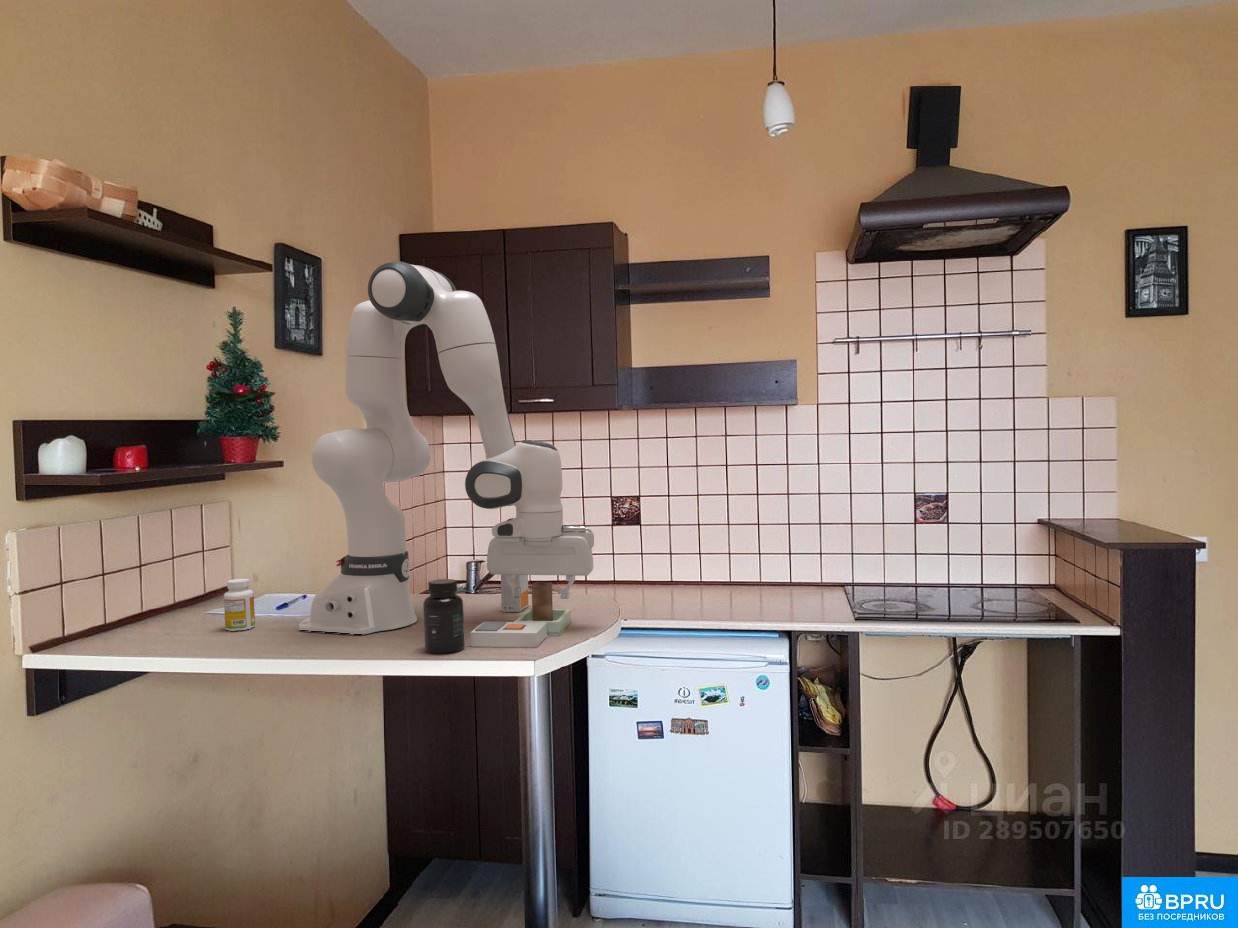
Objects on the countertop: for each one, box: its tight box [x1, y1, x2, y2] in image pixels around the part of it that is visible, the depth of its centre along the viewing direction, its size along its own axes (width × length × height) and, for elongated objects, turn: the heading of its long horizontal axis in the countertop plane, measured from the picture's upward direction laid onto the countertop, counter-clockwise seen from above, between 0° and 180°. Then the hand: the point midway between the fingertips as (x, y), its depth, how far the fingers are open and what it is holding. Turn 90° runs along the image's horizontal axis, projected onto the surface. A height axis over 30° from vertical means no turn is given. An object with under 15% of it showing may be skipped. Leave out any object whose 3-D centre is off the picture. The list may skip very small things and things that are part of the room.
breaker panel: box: [469, 621, 548, 648], centre depth 148 cm, size 12×8×3 cm, turn 82°
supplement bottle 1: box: [223, 578, 256, 632], centre depth 163 cm, size 5×5×10 cm
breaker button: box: [504, 624, 525, 630], centre depth 148 cm, size 3×3×2 cm
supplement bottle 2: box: [422, 578, 465, 655], centre depth 143 cm, size 7×7×12 cm
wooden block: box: [531, 581, 554, 621], centre depth 157 cm, size 3×3×8 cm
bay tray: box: [513, 608, 572, 637], centre depth 157 cm, size 9×11×2 cm
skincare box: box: [500, 575, 529, 613], centre depth 174 cm, size 6×4×12 cm
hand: (540, 597), depth 157 cm, fingers open, 8 cm apart
